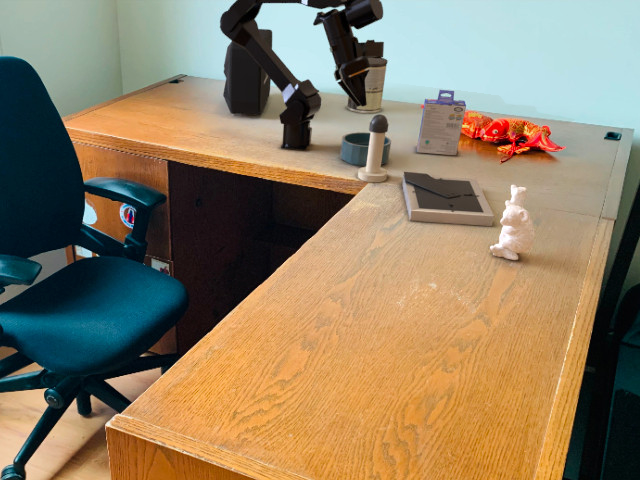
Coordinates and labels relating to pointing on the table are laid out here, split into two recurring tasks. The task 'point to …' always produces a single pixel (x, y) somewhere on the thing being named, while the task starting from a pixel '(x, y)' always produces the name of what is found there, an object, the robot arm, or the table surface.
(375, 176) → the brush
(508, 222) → the white animal figurine
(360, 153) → the bowl
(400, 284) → the table surface
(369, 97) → the coffee can
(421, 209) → the picture frame
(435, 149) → the ink cartridge box
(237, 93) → the black hard case
